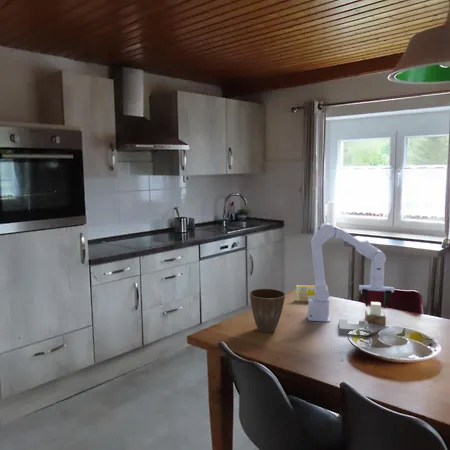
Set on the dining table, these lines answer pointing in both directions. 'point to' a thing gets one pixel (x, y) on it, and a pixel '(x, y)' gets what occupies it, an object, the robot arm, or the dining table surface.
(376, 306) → the cream block
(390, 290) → the robot arm
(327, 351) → the dining table surface
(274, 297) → the plant pot
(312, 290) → the candy box
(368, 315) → the walnut stand
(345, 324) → the slate notch board
